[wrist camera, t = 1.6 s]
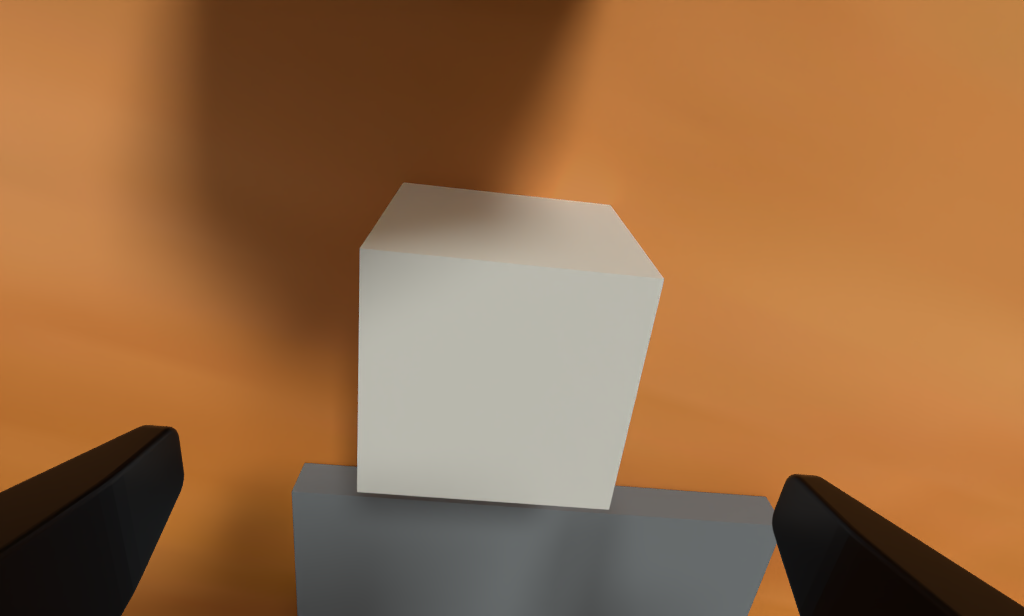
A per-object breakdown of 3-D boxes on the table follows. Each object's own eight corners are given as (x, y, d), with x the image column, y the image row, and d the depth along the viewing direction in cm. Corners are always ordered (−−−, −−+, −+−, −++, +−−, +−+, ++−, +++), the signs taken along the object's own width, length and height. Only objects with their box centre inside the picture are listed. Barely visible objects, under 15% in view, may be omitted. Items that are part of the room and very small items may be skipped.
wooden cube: (396, 364, 16) (357, 491, 11) (403, 181, 14) (360, 247, 9) (576, 379, 16) (609, 509, 12) (609, 204, 14) (664, 278, 10)
